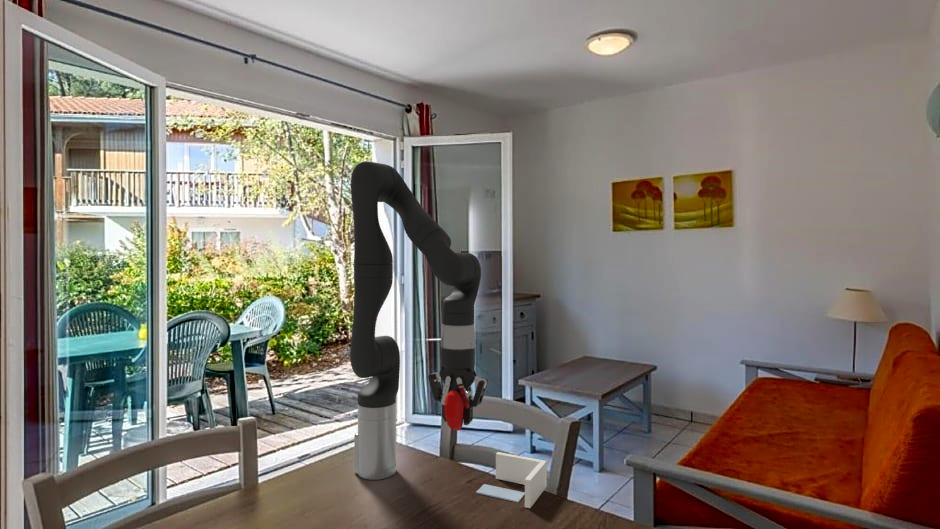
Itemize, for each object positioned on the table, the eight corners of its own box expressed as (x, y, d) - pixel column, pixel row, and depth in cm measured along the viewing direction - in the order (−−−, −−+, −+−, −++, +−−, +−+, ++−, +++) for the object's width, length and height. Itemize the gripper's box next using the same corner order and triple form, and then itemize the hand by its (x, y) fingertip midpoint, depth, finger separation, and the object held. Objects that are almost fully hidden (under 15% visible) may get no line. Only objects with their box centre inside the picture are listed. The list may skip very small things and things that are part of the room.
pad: (476, 493, 117) (476, 491, 117) (484, 485, 121) (484, 483, 121) (518, 502, 113) (518, 501, 113) (525, 494, 117) (525, 492, 117)
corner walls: (477, 496, 116) (477, 469, 115) (497, 476, 126) (497, 452, 126) (530, 508, 110) (530, 480, 110) (546, 486, 120) (546, 461, 120)
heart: (460, 444, 108) (459, 399, 106) (440, 443, 109) (439, 398, 107) (471, 418, 120) (469, 377, 118) (452, 417, 120) (451, 376, 119)
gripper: (420, 344, 113) (420, 422, 114) (480, 350, 107) (480, 433, 108) (437, 339, 120) (436, 412, 121) (494, 344, 114) (494, 422, 114)
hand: (457, 422), depth 114 cm, fingers closed on heart, 4 cm apart
